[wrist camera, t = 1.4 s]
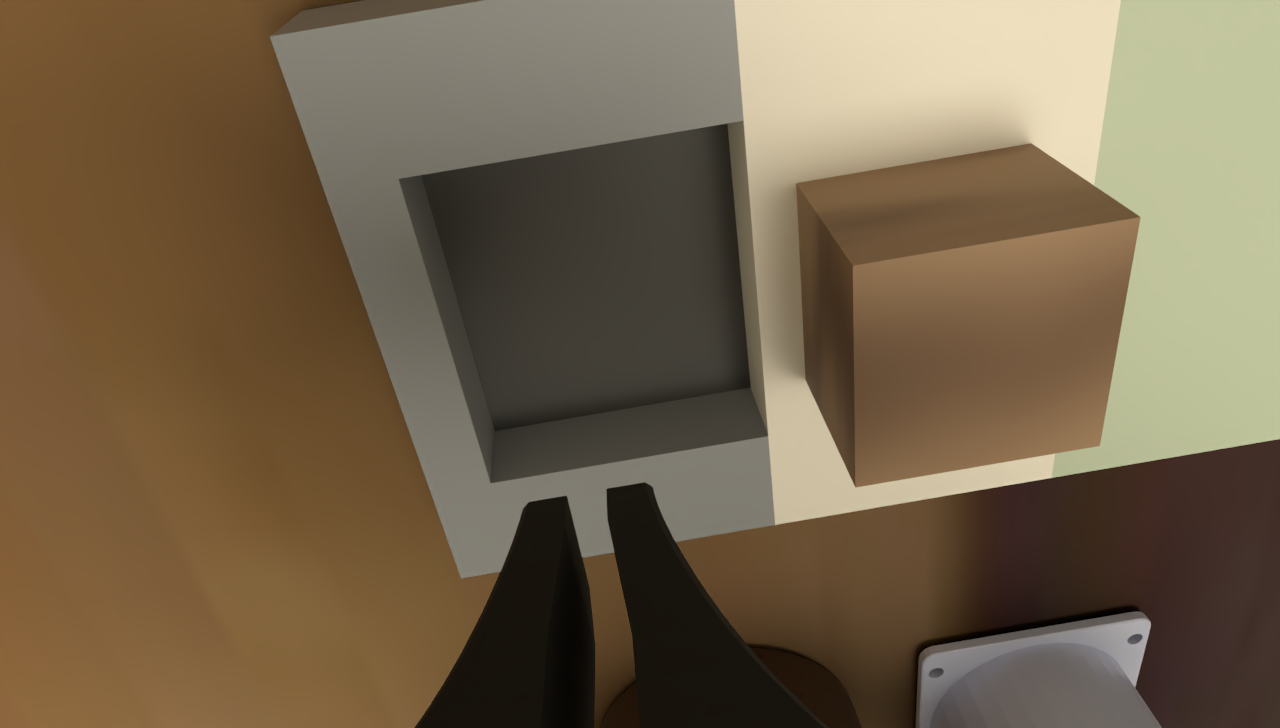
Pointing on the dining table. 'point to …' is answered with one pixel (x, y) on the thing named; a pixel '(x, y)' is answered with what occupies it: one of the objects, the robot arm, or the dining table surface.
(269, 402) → the dining table surface
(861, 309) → the walnut block
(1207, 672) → the dining table surface
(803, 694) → the olive oil
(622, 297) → the trap lane
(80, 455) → the dining table surface
